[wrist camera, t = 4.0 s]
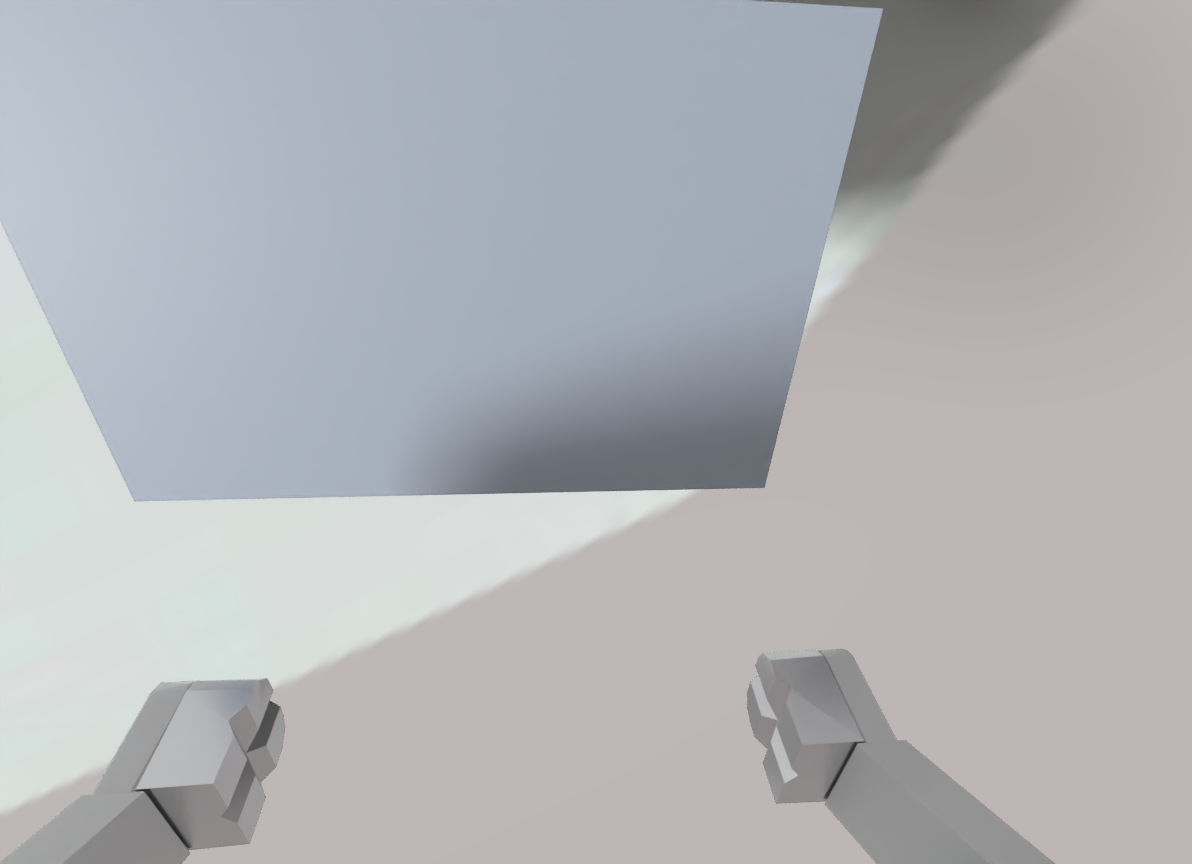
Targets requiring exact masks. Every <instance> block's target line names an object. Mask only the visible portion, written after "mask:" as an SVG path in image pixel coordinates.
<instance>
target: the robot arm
mask: <svg viewBox="0 0 1192 864" xmlns="http://www.w3.org/2000/svg"><path fill="white" fill-rule="evenodd" d="M755 666H756V669H757V672H758V676H757V677H755V678H754V679H753V680H752V681H750V684H749V688H748V692H747V709H748V714H749V720H750V724H751V727H752V730H753V734H754V737H755V738H756V739H758V740H759V741H760V742H761V743H762V744H763V745H764V746H765V747H766V748H767V751H766V754H765V757H764V760H763V765H764V768H765V771H766V775H767V778H768V781H769V784H770V787H771V790H772V793H773V796H774V799H775V802H776V804H778V803H800V802H821V801H826V802H825V805H826V806H827V808H828V809H829V810H830V811H831V812H832V813H833V814H834V816H835V817H836V818H837V819H838V820H839V821H840V823H841V824H842V825H843V826H844V827H845V828H846V829H847V830H848V832H849V833H850V834H851V835H852V836H853V837H854V838H855V840H856V841H857V842H858V843H859V844H860V845H861V847H862V848H863V849H864V850H865V851H866V852H867V853H868V855H869V856H870V857H871V858H872V859H873V860H874V861H875V862H876V864H1054V862H1052V861H1051V860H1050V859H1049V858H1048V857H1046V856H1045V855H1044V854H1043V853H1042V852H1040V851H1039V850H1038V849H1037V848H1036V847H1034V846H1033V845H1032V844H1031V843H1030V842H1028V841H1027V840H1026V839H1024V838H1023V837H1022V836H1021V835H1020V834H1018V833H1017V832H1016V831H1015V830H1014V829H1013V828H1011V827H1010V826H1009V825H1008V824H1006V823H1005V822H1004V821H1003V820H1002V819H1000V818H999V817H998V816H997V815H996V814H994V813H993V812H992V811H991V810H989V809H988V808H987V807H986V806H985V805H984V804H982V803H981V802H980V801H979V800H977V799H976V798H975V797H974V796H973V795H971V794H970V793H969V792H968V791H967V790H965V789H964V788H963V787H962V786H960V785H959V784H958V783H957V782H956V781H954V780H953V779H952V778H951V777H949V776H948V775H947V774H946V773H945V772H944V771H942V770H941V769H940V768H939V767H938V766H936V765H935V764H934V763H933V762H931V761H930V760H929V759H928V758H927V757H925V756H924V755H923V754H922V753H920V752H919V751H918V750H917V749H916V748H915V747H913V746H912V745H911V744H910V743H908V742H907V741H906V740H897V739H896V737H895V735H894V733H893V731H892V729H891V728H890V726H889V724H888V722H887V720H886V718H885V716H884V714H883V712H882V710H881V708H880V706H879V704H878V703H877V701H876V699H875V697H874V695H873V693H872V691H871V689H870V687H869V685H868V684H867V682H866V680H865V678H864V676H863V674H862V672H861V670H860V668H859V666H858V664H857V663H856V661H855V659H854V657H853V655H852V654H851V653H850V652H849V651H848V650H845V649H834V650H833V649H832V650H817V651H816V650H804V651H790V652H774V653H763V654H761V655H760V656H759V657H758V660H757V662H756V665H755ZM272 693H273V689H272V687H271V685H270V683H269V681H268V679H267V678H263V679H239V680H214V681H182V682H163V683H160V684H159V685H158V686H157V687H156V688H155V689H154V690H153V691H152V692H151V693H150V694H149V696H148V698H147V700H146V701H145V703H144V705H143V707H142V708H141V710H140V712H139V714H138V715H137V717H136V719H135V721H134V722H133V724H132V726H131V727H130V729H129V731H128V733H127V734H126V736H125V738H124V740H123V741H122V743H121V745H120V747H119V748H118V750H117V752H116V754H115V755H114V757H113V759H112V761H111V762H110V764H109V766H108V768H107V769H106V771H105V773H104V775H103V777H102V778H101V780H100V782H99V783H98V785H97V787H96V789H95V790H94V792H93V794H86V795H81V796H80V797H78V798H77V799H76V800H75V801H74V802H72V803H71V804H70V805H69V806H67V807H66V808H65V809H64V810H62V811H61V812H60V813H59V814H58V815H56V816H55V817H54V818H53V819H52V820H50V821H49V822H48V823H47V824H46V825H44V826H43V827H42V828H41V829H40V830H38V831H37V832H36V833H35V834H33V835H32V836H31V837H30V838H29V839H27V840H26V841H25V842H24V843H22V844H21V845H20V846H19V847H18V848H17V849H15V850H14V851H13V852H12V853H10V854H9V855H8V856H7V857H5V858H4V859H3V860H2V861H1V862H0V864H182V863H183V861H184V860H185V859H186V858H187V857H188V856H189V854H190V852H189V850H195V849H204V848H214V847H224V846H233V845H242V844H250V842H251V839H252V836H253V833H254V830H255V827H256V824H257V821H258V819H259V815H260V813H261V810H262V807H263V804H264V801H265V798H266V796H265V793H264V790H263V787H262V785H261V782H262V781H263V780H264V779H265V778H266V776H268V775H269V774H270V773H271V772H272V771H273V770H274V769H275V768H276V766H277V763H278V760H279V757H280V754H281V751H282V747H283V739H284V733H285V723H284V715H283V712H282V710H281V707H280V706H278V705H277V704H275V703H273V702H271V701H270V698H271V695H272Z"/></svg>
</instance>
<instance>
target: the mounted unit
mask: <svg viewBox="0 0 1192 864" xmlns="http://www.w3.org/2000/svg"><path fill="white" fill-rule="evenodd" d="M882 12H883V8H867V7H851V6H835V5H818V4H802V3H786V2H770V1H753V0H0V222H1V224H2V226H3V228H4V230H5V233H6V235H7V237H8V239H9V241H10V243H11V245H12V247H13V249H14V251H15V253H16V255H17V258H18V260H19V262H20V264H21V266H22V268H23V270H24V272H25V274H26V276H27V278H28V280H29V283H30V285H31V287H32V289H33V291H34V293H35V295H36V297H37V299H38V301H39V303H40V305H41V308H42V310H43V312H44V314H45V316H46V318H47V320H48V322H49V324H50V326H51V328H52V330H53V333H54V335H55V337H56V339H57V341H58V343H59V345H60V347H61V349H62V351H63V353H64V355H65V358H66V360H67V362H68V364H69V366H70V368H71V370H72V372H73V374H74V376H75V378H76V380H77V383H78V385H79V387H80V389H81V391H82V393H83V395H84V397H85V399H86V401H87V403H88V405H89V408H90V410H91V412H92V414H93V416H94V418H95V420H96V422H97V424H98V426H99V428H100V430H101V433H102V435H103V437H104V439H105V441H106V443H107V445H108V447H109V449H110V451H111V453H112V455H113V458H114V460H115V462H116V464H117V466H118V468H119V470H120V472H121V474H122V476H123V478H124V480H125V483H126V485H127V487H128V489H129V491H130V493H131V495H132V497H133V499H134V501H172V500H218V499H265V498H311V497H357V496H404V495H450V494H496V493H543V492H589V491H636V490H682V489H725V488H764V487H765V483H766V479H767V475H768V471H769V467H770V463H771V459H772V455H773V451H774V447H775V443H776V439H777V434H778V431H779V427H780V423H781V419H782V415H783V410H784V407H785V403H786V399H787V395H788V391H789V387H790V383H791V378H792V374H793V371H794V366H795V362H796V358H797V354H798V350H799V346H800V342H801V338H802V334H803V330H804V326H805V322H806V318H807V314H808V310H809V306H810V302H811V298H812V294H813V290H814V286H815V282H816V278H817V274H818V270H819V266H820V262H821V258H822V254H823V250H824V246H825V242H826V238H827V234H828V230H829V225H830V221H831V217H832V213H833V209H834V205H835V201H836V197H837V193H838V189H839V185H840V181H841V177H842V173H843V169H844V165H845V161H846V157H847V153H848V149H849V145H850V141H851V137H852V133H853V129H854V125H855V121H856V117H857V113H858V109H859V105H860V101H861V97H862V93H863V89H864V84H865V80H866V76H867V72H868V68H869V64H870V60H871V56H872V52H873V48H874V44H875V40H876V36H877V32H878V28H879V24H880V20H881V16H882Z"/></svg>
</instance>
